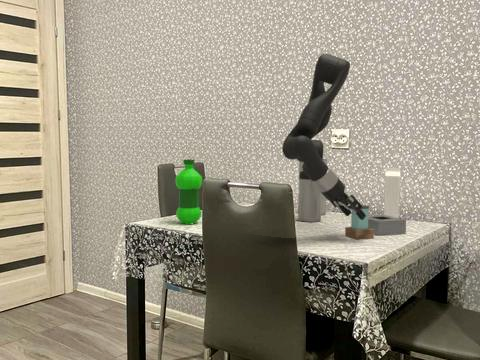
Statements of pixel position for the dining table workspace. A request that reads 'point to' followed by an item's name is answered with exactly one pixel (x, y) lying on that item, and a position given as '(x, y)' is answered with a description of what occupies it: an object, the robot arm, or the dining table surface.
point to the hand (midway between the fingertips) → (356, 216)
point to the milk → (392, 192)
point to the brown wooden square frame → (359, 233)
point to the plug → (357, 222)
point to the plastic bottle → (188, 193)
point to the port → (386, 225)
